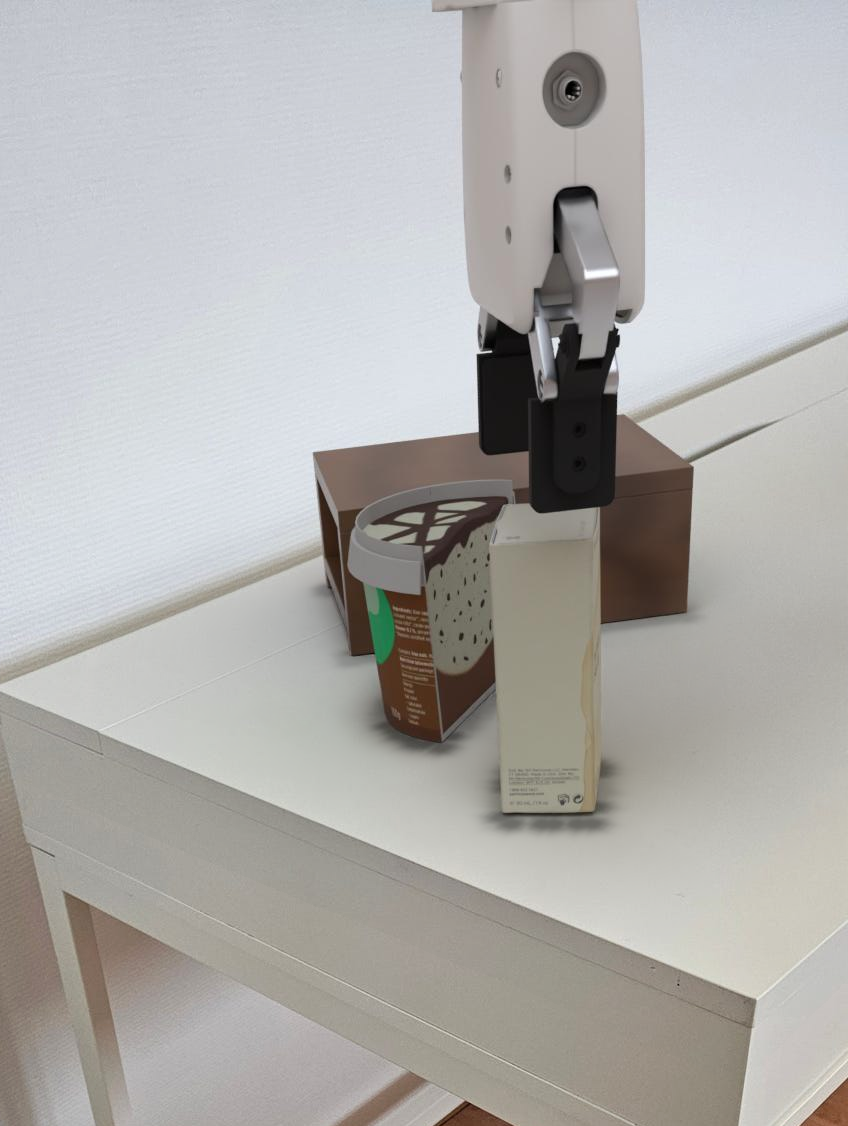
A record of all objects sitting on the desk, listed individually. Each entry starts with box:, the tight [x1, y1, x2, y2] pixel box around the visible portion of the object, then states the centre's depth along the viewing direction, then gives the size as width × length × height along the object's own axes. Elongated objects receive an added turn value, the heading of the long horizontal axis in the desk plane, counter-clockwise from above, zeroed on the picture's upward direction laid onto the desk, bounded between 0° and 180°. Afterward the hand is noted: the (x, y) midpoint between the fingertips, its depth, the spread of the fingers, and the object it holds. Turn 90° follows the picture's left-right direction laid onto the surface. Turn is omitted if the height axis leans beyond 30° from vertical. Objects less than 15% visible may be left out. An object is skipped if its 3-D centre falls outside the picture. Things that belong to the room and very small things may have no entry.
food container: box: [347, 480, 516, 743], centre depth 72 cm, size 12×6×10 cm, turn 154°
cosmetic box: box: [489, 504, 602, 814], centre depth 62 cm, size 6×4×12 cm
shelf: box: [312, 413, 695, 656], centre depth 85 cm, size 20×14×8 cm
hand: (542, 477), depth 57 cm, fingers open, 9 cm apart
